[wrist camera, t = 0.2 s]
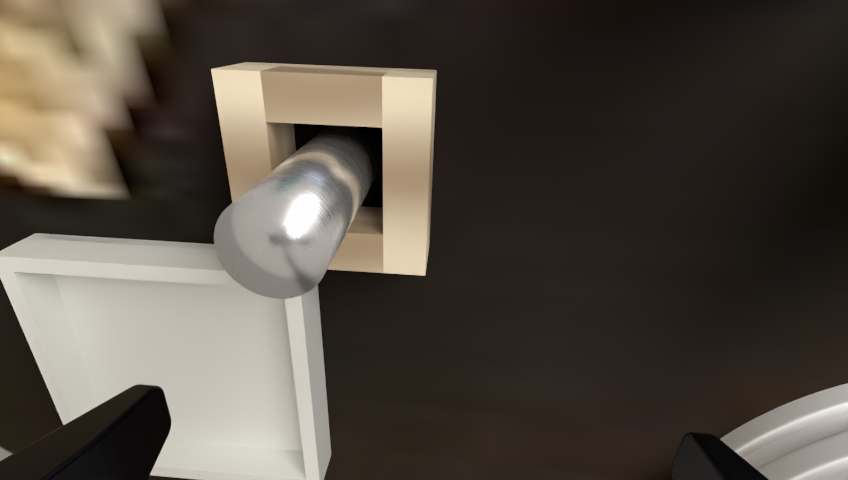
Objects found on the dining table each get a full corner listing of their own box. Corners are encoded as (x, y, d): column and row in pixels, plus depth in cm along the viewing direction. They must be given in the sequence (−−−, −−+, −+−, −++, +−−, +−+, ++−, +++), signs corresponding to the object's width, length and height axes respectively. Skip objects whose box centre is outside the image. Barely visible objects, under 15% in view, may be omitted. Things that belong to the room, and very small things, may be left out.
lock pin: (380, 195, 21) (331, 302, 13) (312, 191, 22) (223, 294, 13) (379, 126, 20) (324, 198, 12) (307, 122, 20) (204, 192, 12)
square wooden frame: (429, 244, 22) (425, 275, 20) (267, 234, 23) (242, 264, 20) (436, 70, 19) (432, 78, 16) (246, 62, 19) (211, 68, 16)
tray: (331, 454, 29) (320, 490, 27) (110, 435, 30) (82, 469, 28) (315, 250, 23) (299, 275, 21) (35, 233, 24) (-10, 255, 21)
